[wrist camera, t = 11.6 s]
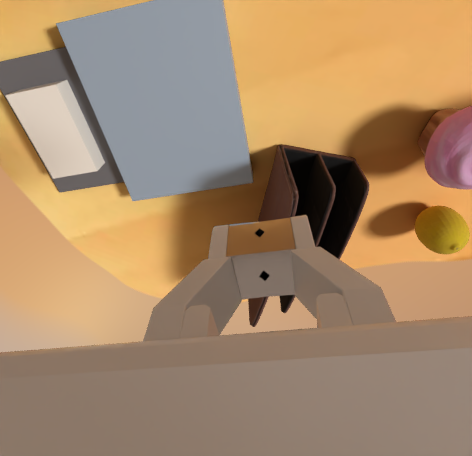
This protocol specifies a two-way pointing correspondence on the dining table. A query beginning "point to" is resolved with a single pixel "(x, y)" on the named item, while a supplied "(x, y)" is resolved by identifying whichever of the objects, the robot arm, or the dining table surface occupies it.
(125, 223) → the dining table surface
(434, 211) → the lemon
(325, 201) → the letter holder
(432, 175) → the cupcake
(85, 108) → the mat
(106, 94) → the panel
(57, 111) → the tile
